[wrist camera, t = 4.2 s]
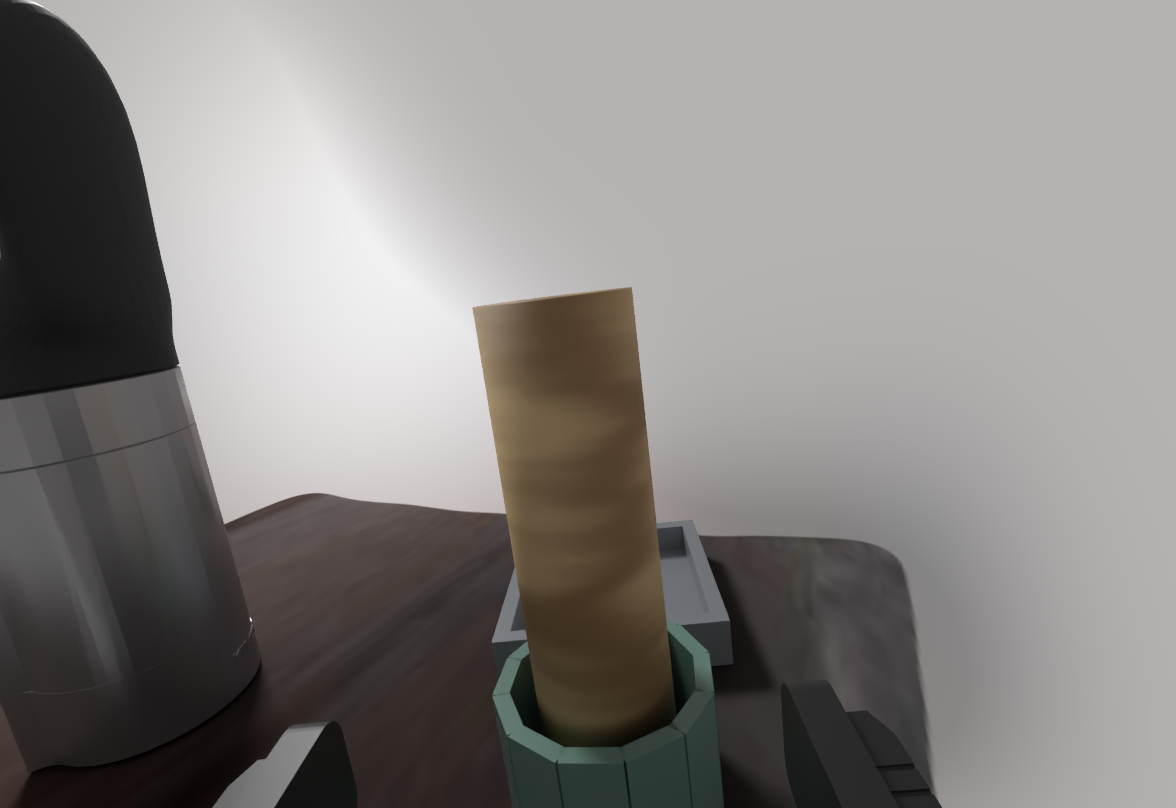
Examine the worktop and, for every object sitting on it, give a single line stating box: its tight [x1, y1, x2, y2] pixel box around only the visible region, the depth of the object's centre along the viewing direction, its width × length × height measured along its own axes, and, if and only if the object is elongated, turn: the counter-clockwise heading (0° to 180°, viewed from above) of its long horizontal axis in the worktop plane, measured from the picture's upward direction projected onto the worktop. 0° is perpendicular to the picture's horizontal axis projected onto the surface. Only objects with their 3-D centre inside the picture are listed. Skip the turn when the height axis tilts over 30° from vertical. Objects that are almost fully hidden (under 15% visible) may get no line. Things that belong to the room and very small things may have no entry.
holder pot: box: [493, 620, 724, 808], centre depth 21 cm, size 8×8×5 cm
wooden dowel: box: [473, 288, 676, 747], centre depth 20 cm, size 5×5×18 cm
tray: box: [492, 520, 733, 680], centre depth 33 cm, size 12×12×2 cm
